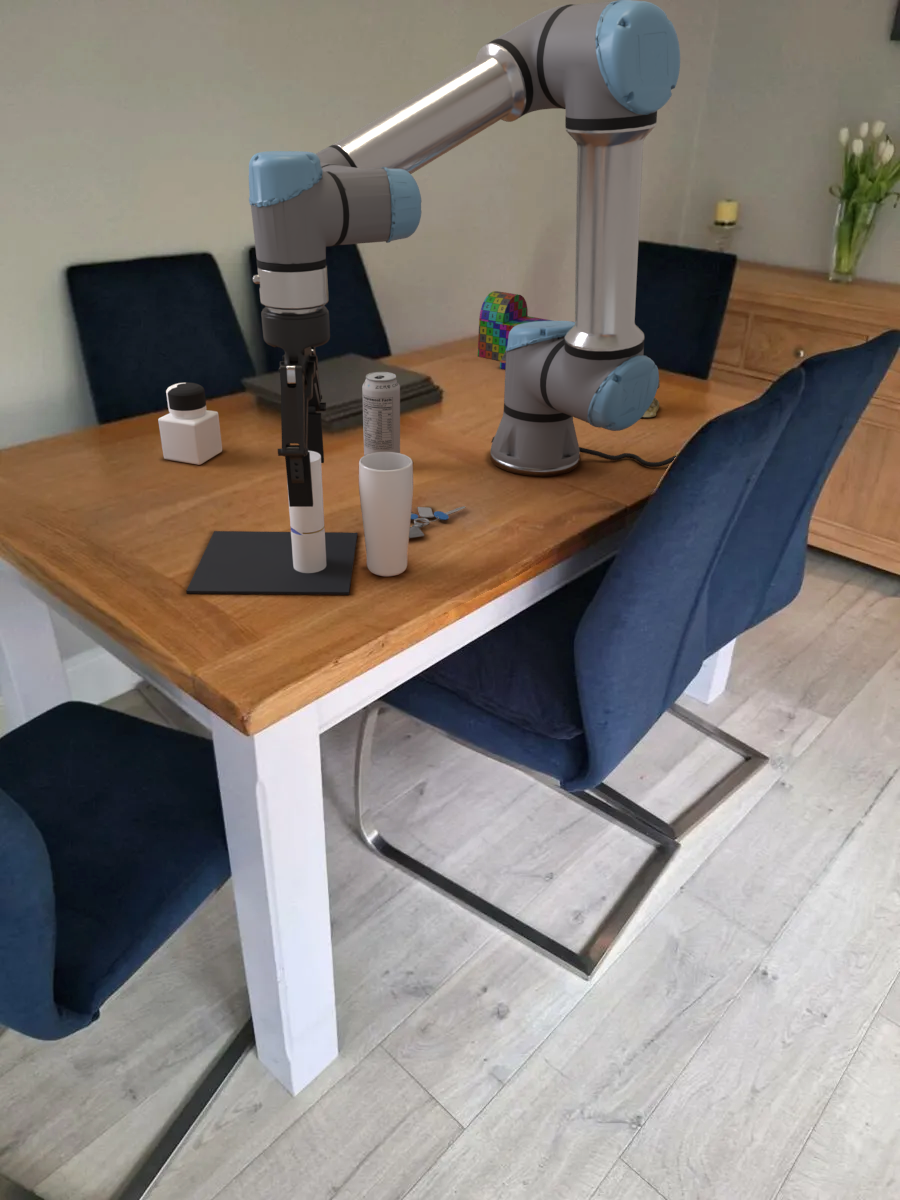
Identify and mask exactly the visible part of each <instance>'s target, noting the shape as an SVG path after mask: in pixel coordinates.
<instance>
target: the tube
mask: <svg viewBox="0 0 900 1200" xmlns="http://www.w3.org/2000/svg"><path fill="white" fill-rule="evenodd" d="M308 452H310V465H311V479H312V493H313V507H289V506H288V512H289V513H288V514H289V524H290V525H289V526H290V532H291V540H292V554H293V567H294V569H295V570H297V571H299V572H302V573H315V572H319V571H321V570H323V569H324V568H325V567H326V546H325V532H326V530H325V528H326V527H325V510H324V509H325V508H324V490H323V470H322V463H321V455H320V454H319V453H317V452H314V451H308ZM286 484H287V483H286ZM286 486H287V487H288V484H287V485H286ZM287 499H288V501H289V495H288V494H287Z"/></svg>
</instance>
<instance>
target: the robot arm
mask: <svg viewBox="0 0 900 1200" xmlns="http://www.w3.org/2000/svg"><path fill="white" fill-rule="evenodd" d="M680 48H681V47H680V42H679V36H678V34H677V31H676V28H675V26H674V24H673V22H672V21H671V20H670V19H669V18H668V15H667V13H666V12H665V11H664V10H663V9H662V8H661V7H659V6H658V5H656V4H654V3H653V2H649V1H645V0H613V1H602V2H590V3H588V2H587V3H578V4H561V5H558V6H554V7H551V8H548V9H546V10H544V11H542V12H539V13H538V14H536V15H534V16H532V17H530V18H528V19H527V20H525V21H523V22H521V23H519V24H518V25H516V26H514V27H513V28H511V29H510V30H508V31H506V32H505V33H503V34H501V35H499V36H498V37H496V38H495V39H493V40H491V41H489V42H487V43H485V44H484V45H483V46H481V48H479V50H478V51H477V54H476V56H475V60H474V61H472V62H470V63H468V65H466V66H464V67H462V68H461V69H458V70H457V71H455V72H454V73H452V74H450V75H449V76H447V77H445V78H443V79H442V80H439V81H438V82H436V83H435V84H433V85H431V86H430V87H428V88H426V89H424V90H423V91H421V92H419V93H417V94H416V95H415V96H413V97H411V98H409V99H407V100H406V101H404V102H403V103H401V104H399V105H397V106H396V107H394V108H392V109H390V110H389V111H387V112H386V113H384V114H382V115H380V116H379V117H377V118H375V119H374V120H372V121H370V122H368V123H367V124H365V125H363V126H361V127H359V128H358V129H356V130H354V131H353V132H351V133H349V134H348V135H346V136H344V137H343V138H341V139H339V140H338V141H336V142H334V143H333V144H331V145H329V146H326V147H325V148H322V150H320V151H318V152H316V153H315V152H311V151H299V150H267V151H266V150H265V151H260V152H255V153H254V154H253V155H252V156H251V158H250V160H249V163H248V189H249V193H248V194H249V197H248V203H249V205H250V210H251V219H252V220H251V221H252V228H253V236H254V247H255V248H254V249H255V255H256V267H257V274H253V277H252V282H253V283H254V284H255V285H259V289H258V290H259V299H260V300H259V301H260V304H261V305H262V306H264V307H263V308H262V311H260V316H261V326H262V327H261V328H262V337H263V341H264V342H265V343H266V344H267V345H268V346H271V347H273V348H280V349H282V350H283V351H284V354H283V355H282V361H279V367H278V373H279V379H280V381H279V382H280V415H281V416H280V419H281V425H280V426H281V448H277V456H278V457H284V458H285V460H284V461H285V471H286V472H285V473H286V484H288V486H287V496H288V495H289V500H288V508H289V507H313V493H312V479H311V465H310V452H308V451H314V452H317V453H319V454H320V455H321V464H325V452H324V438H323V437H324V436H323V435H324V434H323V422H322V413H321V412H327V402H322V400H323V394H322V390H321V383H320V375H319V369H318V368H319V367H318V363H319V360H318V358H319V357H318V355H317V353H316V348H317V347H321V346H324V345H325V344H327V343H328V342H329V341H330V338H331V328H330V327H331V326H330V325H331V324H330V311H329V310H328V308H327V306H325V305H327V304H328V302H329V283H328V265H327V247H337V246H346V245H357V244H358V245H359V244H372V243H387V244H388V243H391V242H394V241H398V240H403V239H408V238H410V237H411V236H412V235H414V233H416V231H417V229H418V227H419V225H420V222H421V218H422V194H421V191H420V187H419V185H418V182H417V181H416V178H414V176H413V173H415V172H417V171H419V170H421V169H422V168H424V167H425V166H426V165H428V164H430V163H432V162H434V161H435V160H437V159H439V158H440V157H442V156H443V155H445V154H447V153H448V152H450V151H452V150H454V149H455V148H457V147H458V146H460V145H462V144H463V143H465V142H466V141H468V140H470V139H471V138H474V136H476V135H478V134H480V133H481V132H483V131H484V130H486V129H488V128H490V127H491V126H493V125H495V124H497V123H498V122H499V121H503V122H507V123H512V122H514V121H516V120H518V119H520V118H522V117H523V116H525V115H527V114H529V113H532V112H536V111H542V110H552V109H553V110H554V109H562V110H565V124H564V125H565V132H566V133H567V134H568V135H569V136H570V137H571V139H572V140H574V142H575V143H576V193H575V194H576V199H575V201H576V202H575V203H576V204H575V207H576V208H575V210H576V211H575V277H574V278H575V283H574V286H575V289H574V292H575V293H574V295H575V296H574V297H575V298H574V321H571V320H553V321H538V322H529V323H523V324H519V325H516V326H514V327H513V328H512V329H511V331H510V332H509V336H508V345H507V349H506V368H505V369H504V370H505V371H504V394H503V395H504V396H503V398H504V399H503V412H502V417H501V419H500V422H499V425H498V427H497V430H496V433H495V435H494V436H493V437H492V439H491V442H490V443H491V445H490V450H489V451H490V454H489V459H490V462H491V463H492V464H493V465H494V466H496V467H498V468H500V469H501V470H503V471H506V472H509V473H513V474H517V475H522V476H523V475H524V476H529V477H551V476H558V475H563V474H567V473H569V472H572V471H574V470H576V469H577V468H578V467H579V465H580V460H581V459H580V458H581V453H583V454H587V455H590V456H596V457H599V458H602V459H604V460H605V459H606V460H609V461H621V460H623V459H631V460H634V461H636V462H638V463H639V464H640V465H642V466H644V467H646V468H647V467H648V468H660V467H664V466H666V465H669V464H672V463H673V462H672V461H673V460H674V458H675V457H676V455H677V454H675V455H673V456H671V457H669V458H667V459H664V460H661V461H647V460H645V459H643V458H641V456H639V455H637V454H635V453H630V452H623V453H621V454H616V455H613V454H608V453H604V452H601V451H598V450H594V449H590V448H585V447H581V446H579V445H580V444H579V440H578V437H577V431H576V427H575V423H574V418H575V419H578V420H580V421H583V422H585V423H588V424H589V425H591V426H592V427H593V428H598V429H605V430H608V431H612V432H618V431H623V430H626V429H628V428H630V427H632V426H634V425H635V424H636V423H637V422H639V420H641V418H643V417H642V416H643V415H644V413H645V412H646V410H647V409H648V408H649V407H650V405H651V403H652V401H653V399H654V398H656V395H657V391H658V389H659V388H658V383H659V380H660V371H659V368H658V365H657V364H656V363H655V361H654V360H653V359H651V357H648V356H647V355H644V352H645V351H644V350H645V333H644V332H643V330H642V329H641V328H639V326H638V325H636V320H635V318H636V300H637V299H636V298H637V281H638V277H637V276H638V263H639V261H638V259H639V258H638V257H639V239H640V222H641V221H640V217H641V200H642V199H641V198H642V180H643V179H642V177H643V162H644V161H643V159H644V158H643V157H644V141H645V140H646V138H647V136H648V135H649V134H650V133H651V132H652V130H654V128H655V127H656V126H657V121H658V110H661V109H662V108H663V107H665V105H666V104H667V103H668V102H669V100H670V99H671V97H672V96H673V95H672V94H673V93H672V90H674V89H675V88H676V87H677V83H678V80H679V77H680V69H681V49H680ZM657 388H658V389H657Z"/></svg>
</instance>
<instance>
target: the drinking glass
mask: <svg viewBox="0 0 900 1200" xmlns="http://www.w3.org/2000/svg"><path fill="white" fill-rule="evenodd" d="M358 492H359V494H358V495H359V503H360V511H361V519H362V528H363V536H364V544H365V552H366V553H365V554H366V556H365V557H366V568H367V569H368V571H369V572H370V573H371V574H374V575H376V576H380V577H395V576H398V575H401V574H402V573H404V572H405V571H406V570H407V568H408V558H409V557H408V553H409V542H410V538H409V531H410V527H411V521H412V520H411V512H413V511H412V510H413V509H412V508H413V498H414V462H413V459H412V458H411V457H410V456H408V455H406V454H404V453H401V452H400V453H396V452H376V453H371V454H368V455H365V456H364V455H363V456H362V457H360V459H359V461H358Z"/></svg>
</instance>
